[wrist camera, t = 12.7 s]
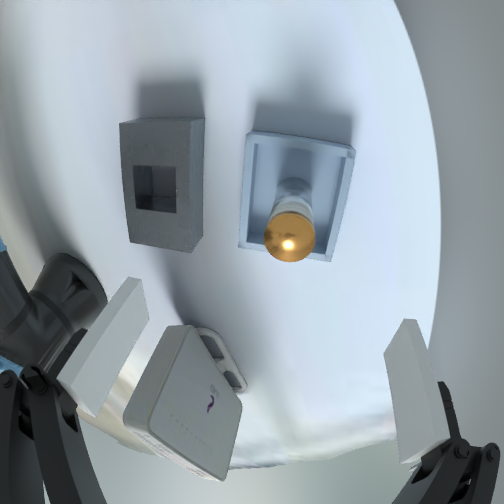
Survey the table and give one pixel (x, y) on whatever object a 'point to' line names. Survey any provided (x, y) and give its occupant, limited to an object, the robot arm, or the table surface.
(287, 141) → the tray
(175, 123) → the grey socket block
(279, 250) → the steel pin
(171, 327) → the network device
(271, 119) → the table surface
